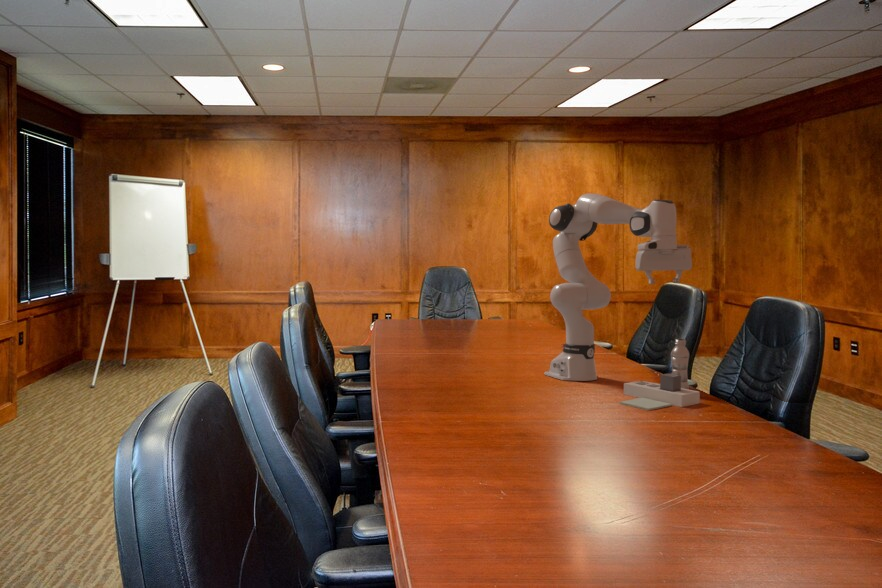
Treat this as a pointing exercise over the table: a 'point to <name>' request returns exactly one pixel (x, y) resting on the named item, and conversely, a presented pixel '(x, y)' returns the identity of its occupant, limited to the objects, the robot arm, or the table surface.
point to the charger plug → (670, 382)
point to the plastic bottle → (680, 361)
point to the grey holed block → (661, 393)
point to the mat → (645, 403)
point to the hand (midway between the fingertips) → (664, 283)
